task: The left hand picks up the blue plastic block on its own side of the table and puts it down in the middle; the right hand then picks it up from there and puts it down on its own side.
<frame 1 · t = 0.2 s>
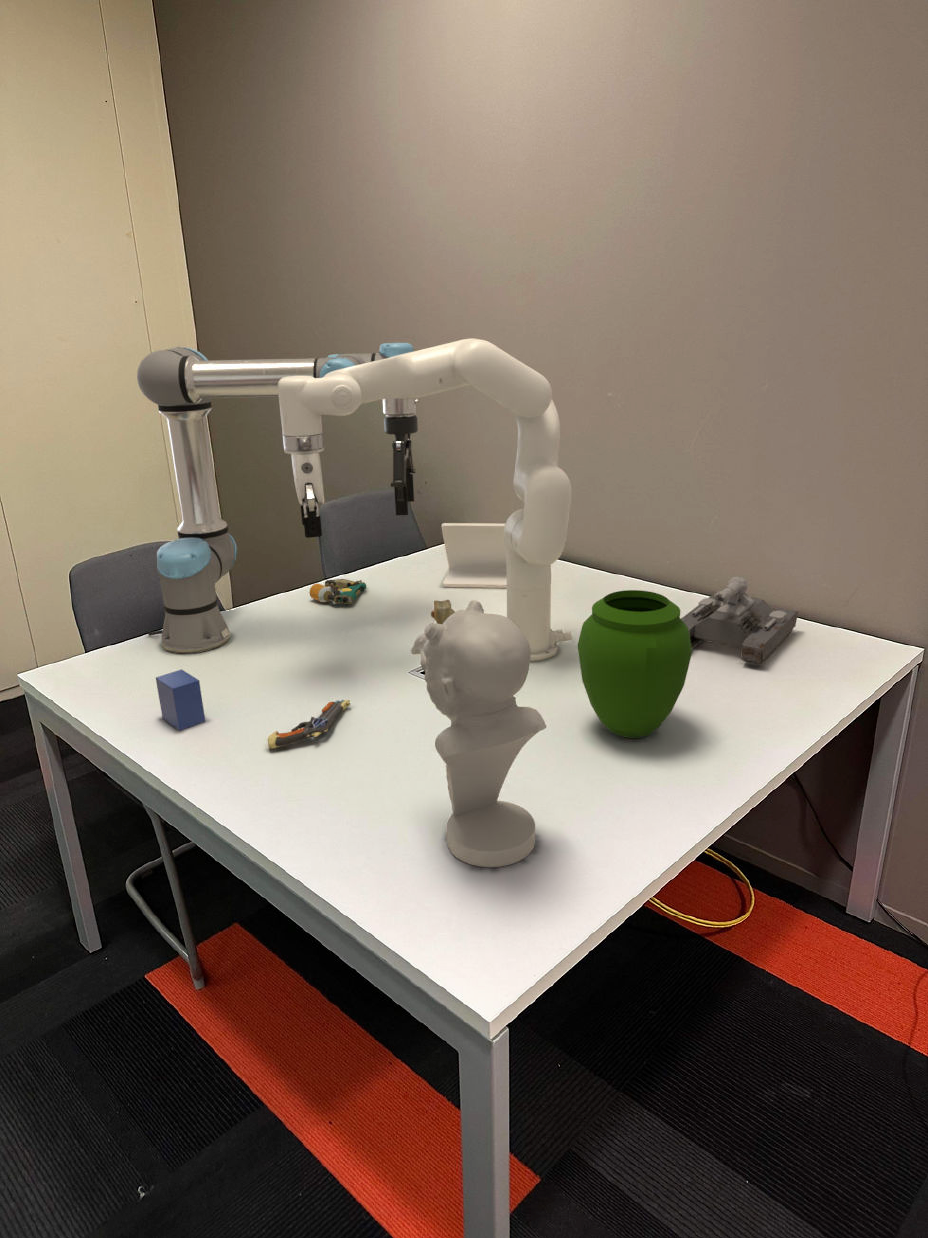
left hand: (405, 508, 199), 28 cm above the table, tool pointing down, fingers open, 13 cm apart
right hand: (312, 530, 169), 31 cm above the table, tool pointing down, fingers open, 9 cm apart
bust sculpture: (470, 832, 125), on the table
toy gun: (310, 728, 157), on the table
toy: (733, 641, 190), on the table
block: (183, 719, 162), on the table
vase: (630, 729, 153), on the table
tablet stand: (491, 577, 238), on the table
spray gun: (341, 597, 226), on the table
sculpture: (445, 671, 180), on the table
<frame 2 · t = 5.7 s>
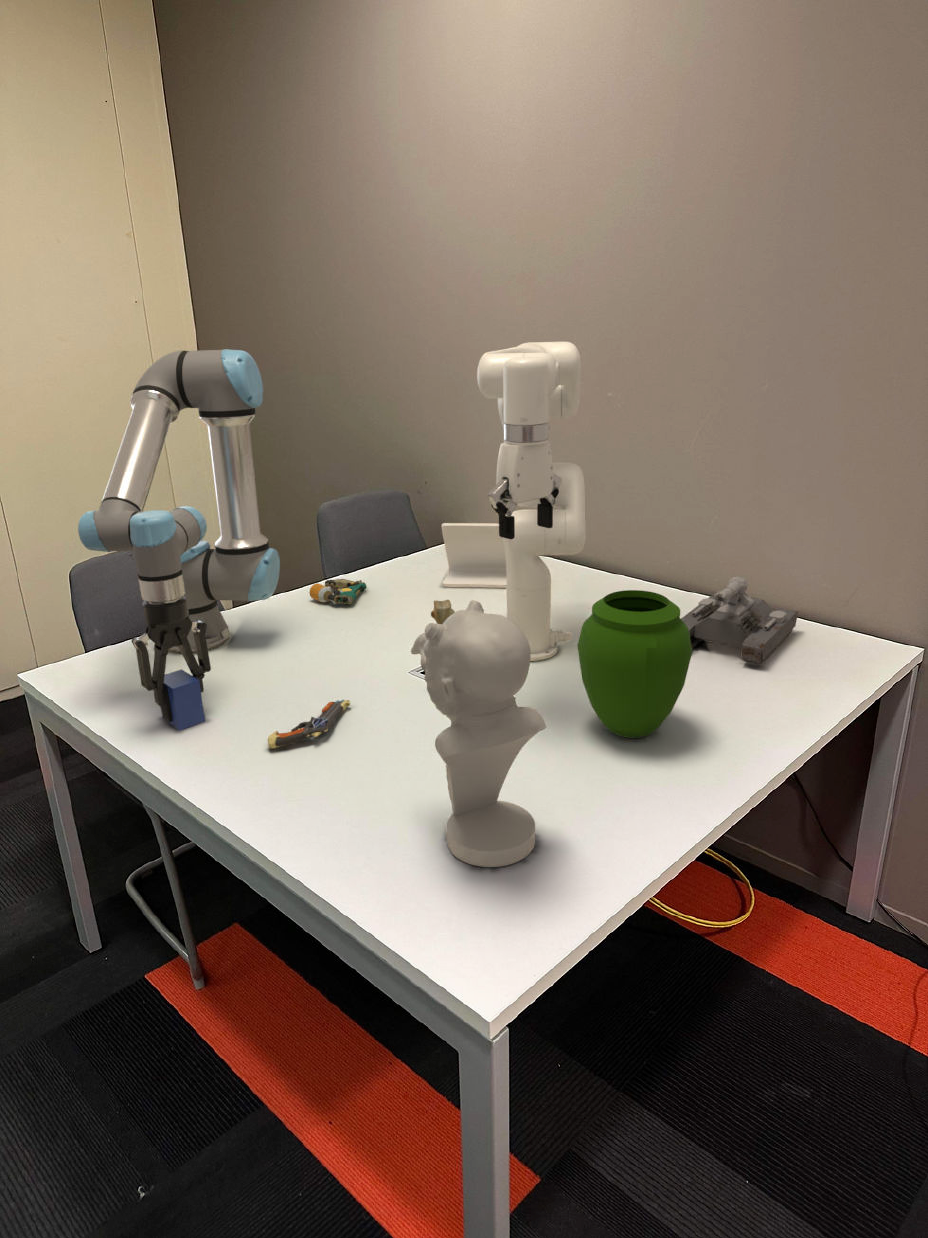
left hand: (182, 713, 161), 1 cm above the table, tool pointing down, fingers closed on block, 5 cm apart
right hand: (526, 532, 150), 35 cm above the table, tool pointing down, fingers open, 9 cm apart
block: (183, 719, 162), on the table, touching left hand
everything else where it was.
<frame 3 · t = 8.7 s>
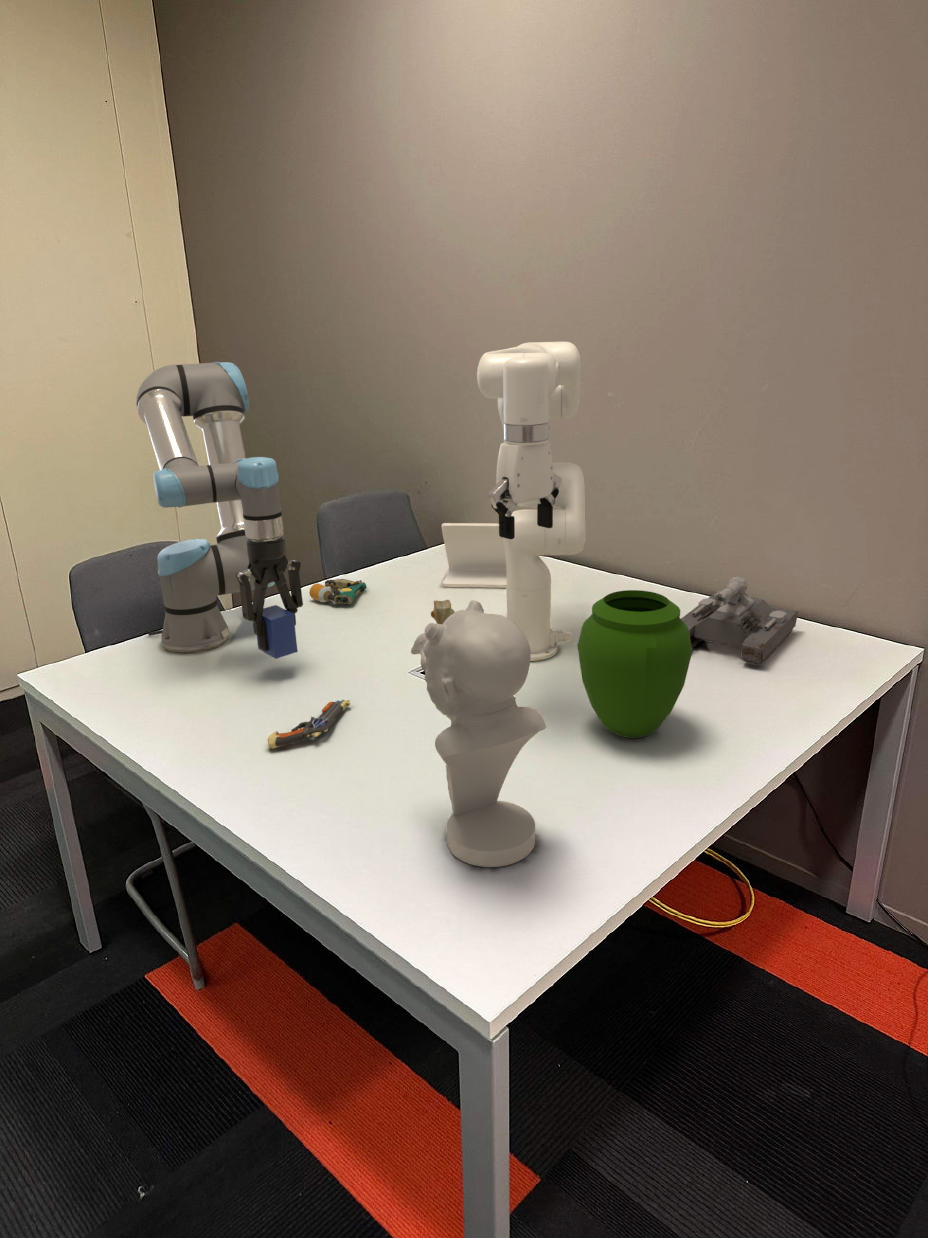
left hand: (277, 644, 178), 7 cm above the table, tool pointing down, fingers closed on block, 5 cm apart
right hand: (526, 532, 150), 35 cm above the table, tool pointing down, fingers open, 9 cm apart
block: (277, 650, 178), point 6 cm above the table, touching left hand
everything else where it was.
when the left hand's fingers open (3 cm above the table, at t = 11.6 s): block drops 2 cm, on the table.
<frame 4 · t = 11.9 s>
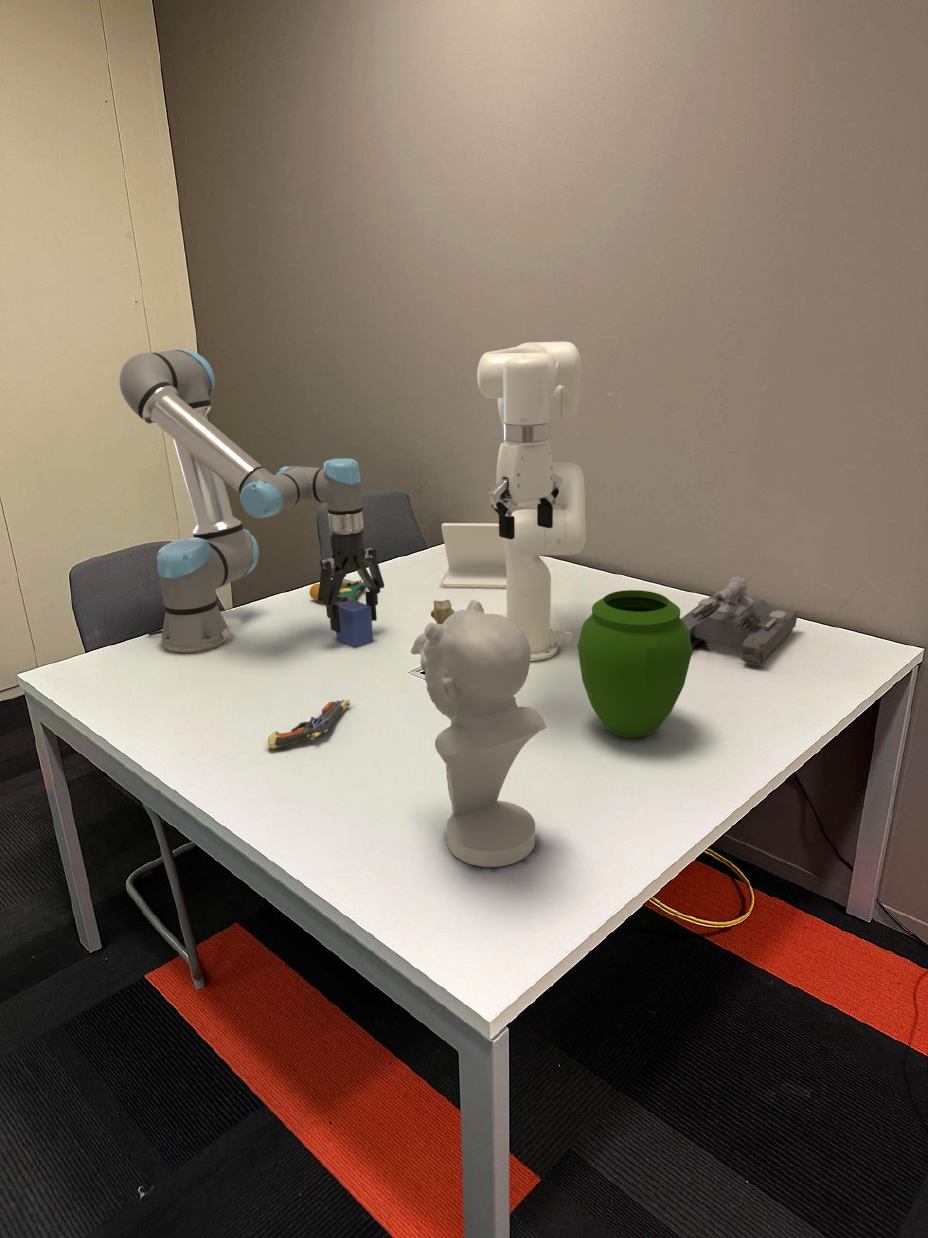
left hand: (354, 625, 196), 4 cm above the table, tool pointing down, fingers open, 9 cm apart
right hand: (526, 532, 150), 35 cm above the table, tool pointing down, fingers open, 9 cm apart
block: (354, 640, 197), on the table
everything else where it was.
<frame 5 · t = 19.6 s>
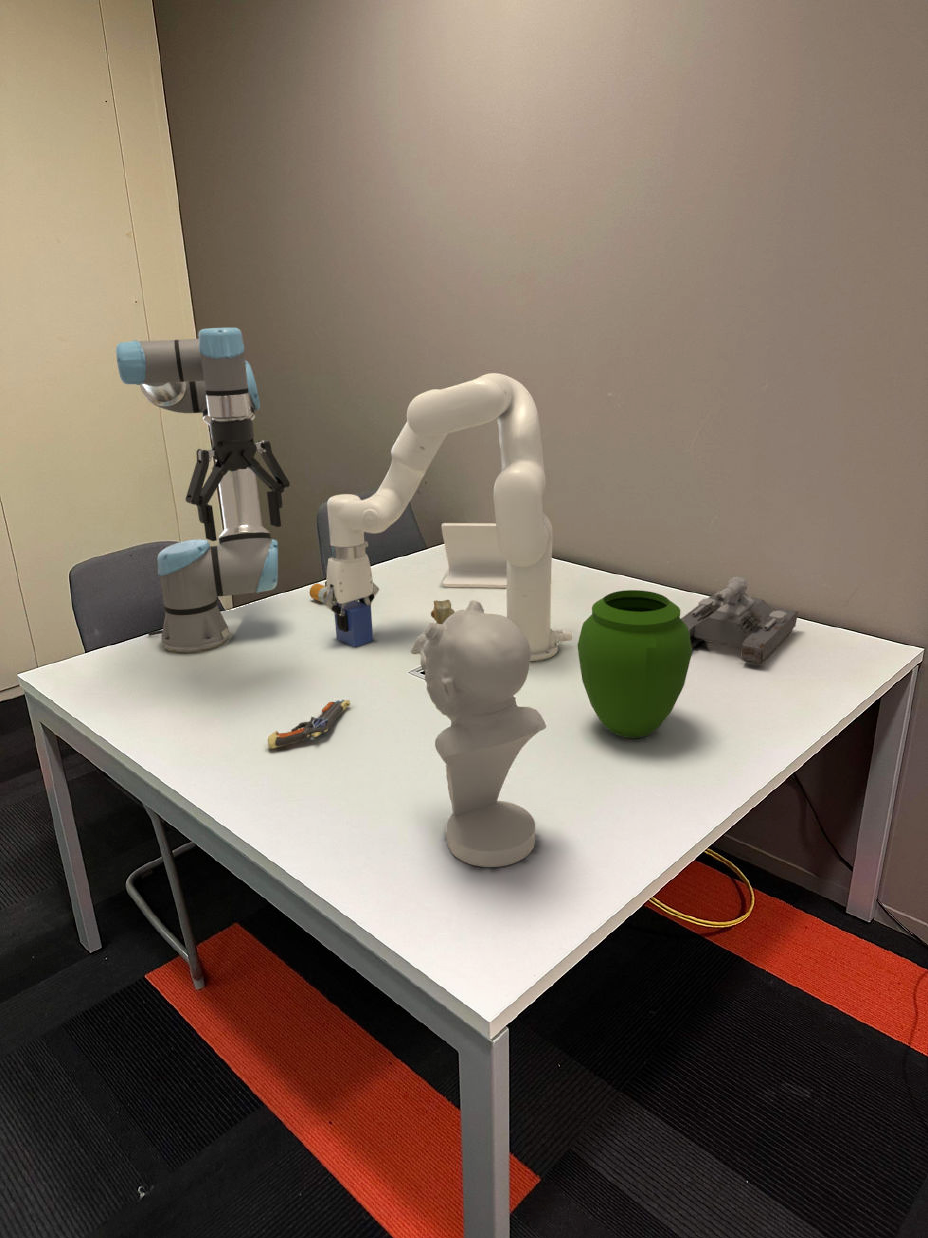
left hand: (244, 532, 161), 33 cm above the table, tool pointing down, fingers open, 13 cm apart
right hand: (353, 626, 196), 4 cm above the table, tool pointing down, fingers closed on block, 5 cm apart
block: (354, 640, 197), on the table, touching right hand
everything else where it was.
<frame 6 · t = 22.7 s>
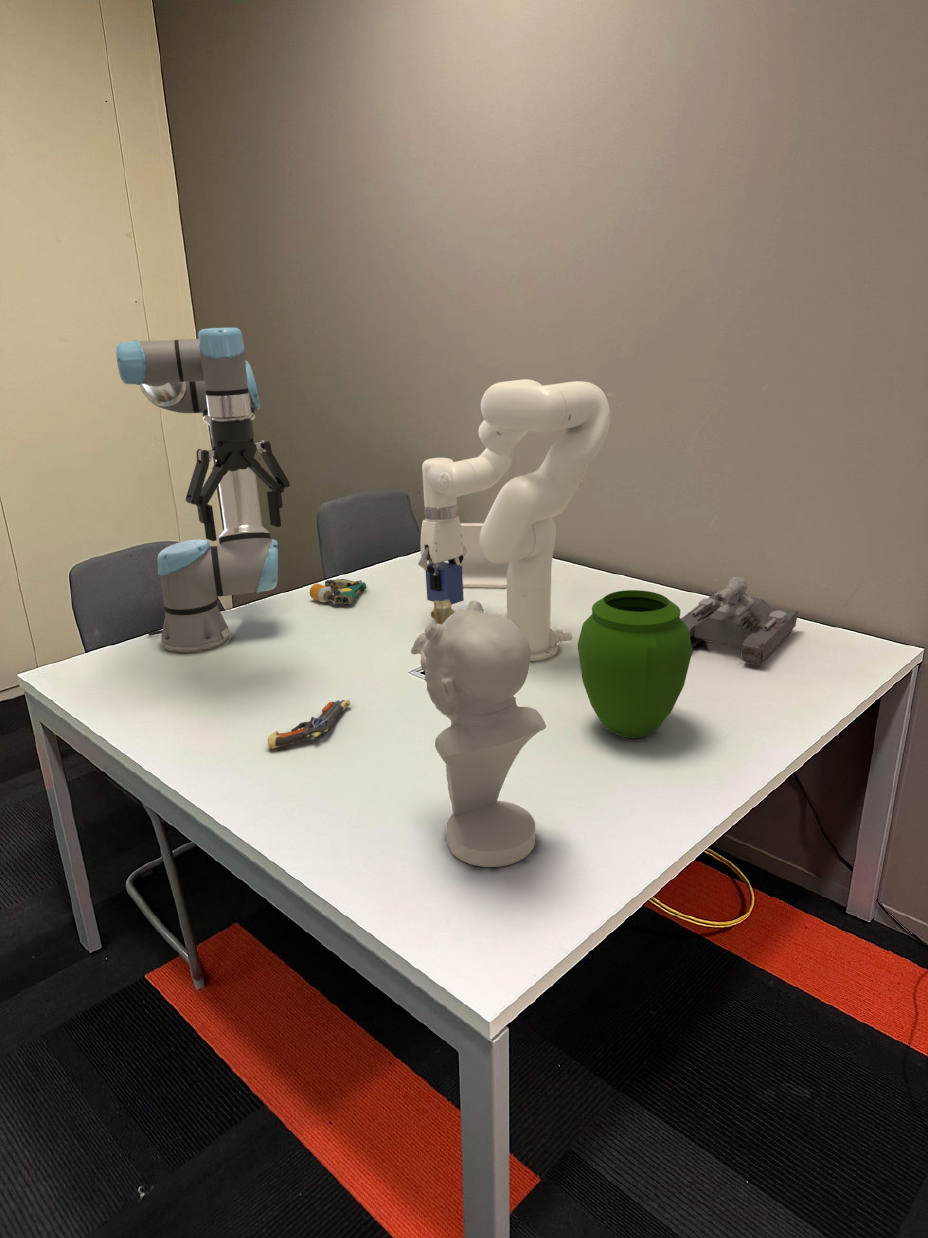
left hand: (244, 532, 161), 33 cm above the table, tool pointing down, fingers open, 13 cm apart
right hand: (444, 586, 203), 9 cm above the table, tool pointing down, fingers closed on block, 5 cm apart
block: (445, 600, 204), point 6 cm above the table, touching right hand
everything else where it was.
when the right hand's fingers open (5 cm above the table, at t = 26.2 s): block drops 1 cm, on the table.
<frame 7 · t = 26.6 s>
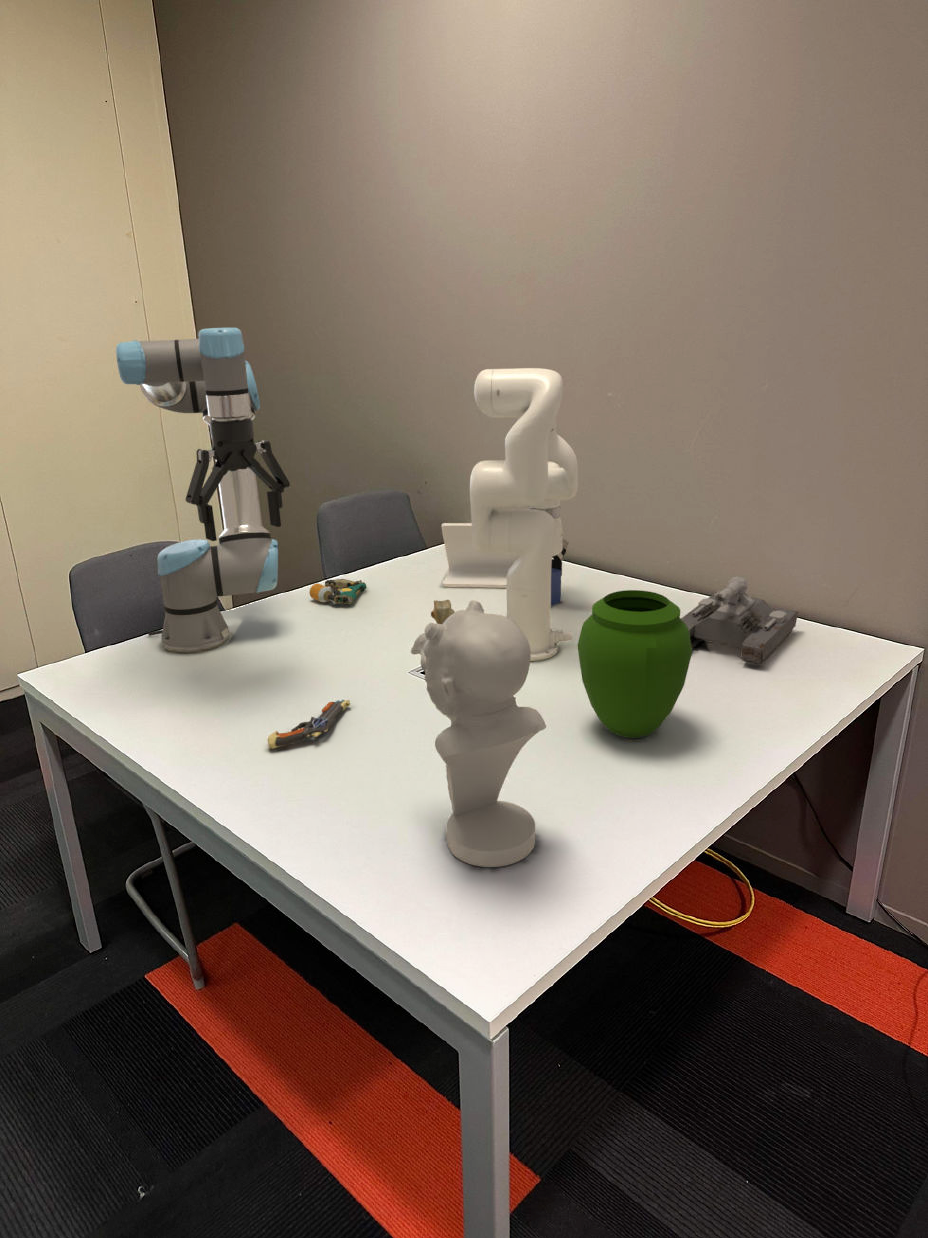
left hand: (244, 532, 161), 33 cm above the table, tool pointing down, fingers open, 13 cm apart
right hand: (544, 579, 217), 6 cm above the table, tool pointing down, fingers open, 9 cm apart
block: (543, 601, 218), on the table
everything else where it was.
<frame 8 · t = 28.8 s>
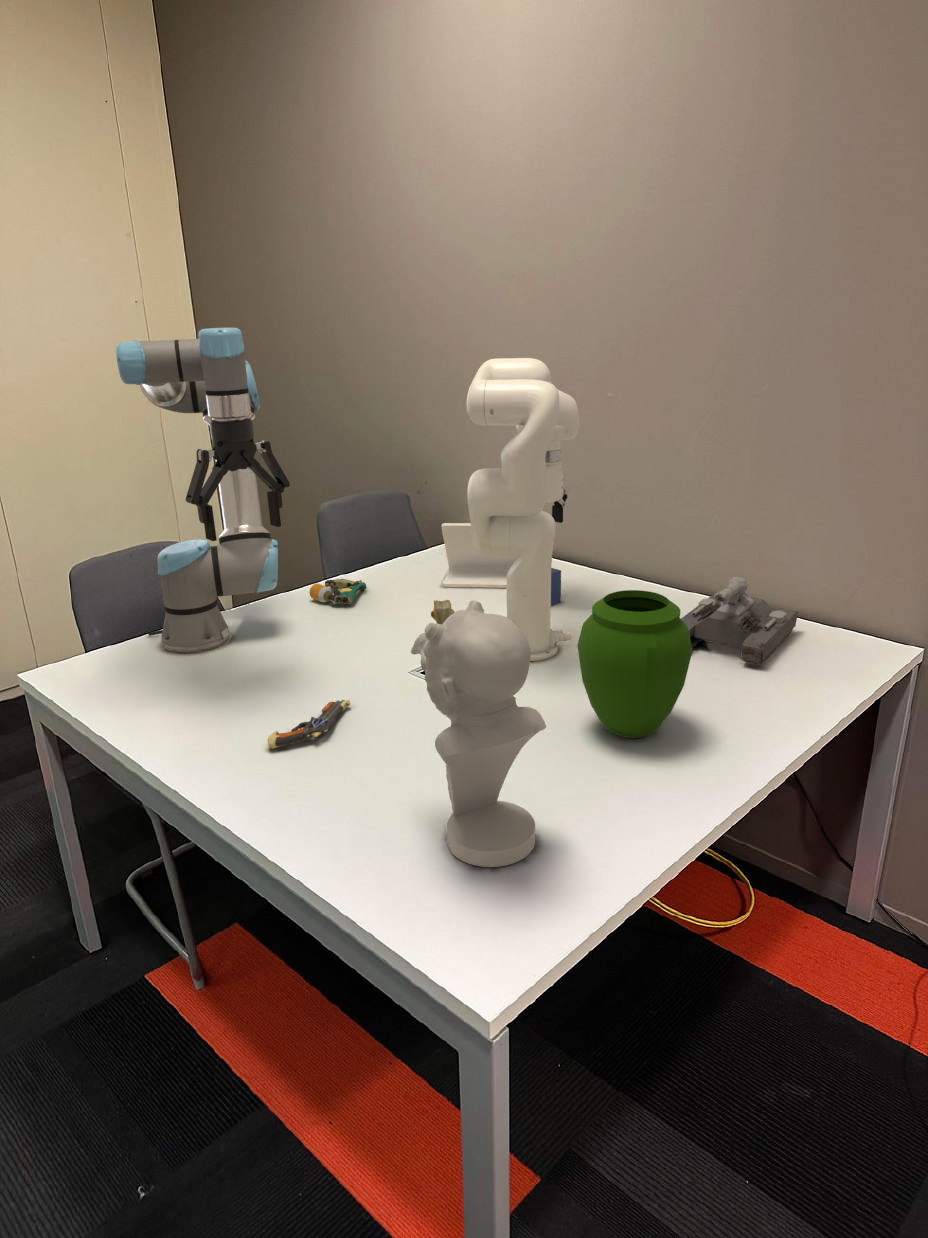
left hand: (244, 532, 161), 33 cm above the table, tool pointing down, fingers open, 13 cm apart
right hand: (544, 525, 212), 20 cm above the table, tool pointing down, fingers open, 9 cm apart
nothing on the table moved.
at the end: block inside the target area (0.4 cm from its centre), on the table; block tilted 0°; the two hands never held the block at the same time; the left hand is holding nothing; the right hand is holding nothing; block at rest at the end (0.0 cm/s) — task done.
